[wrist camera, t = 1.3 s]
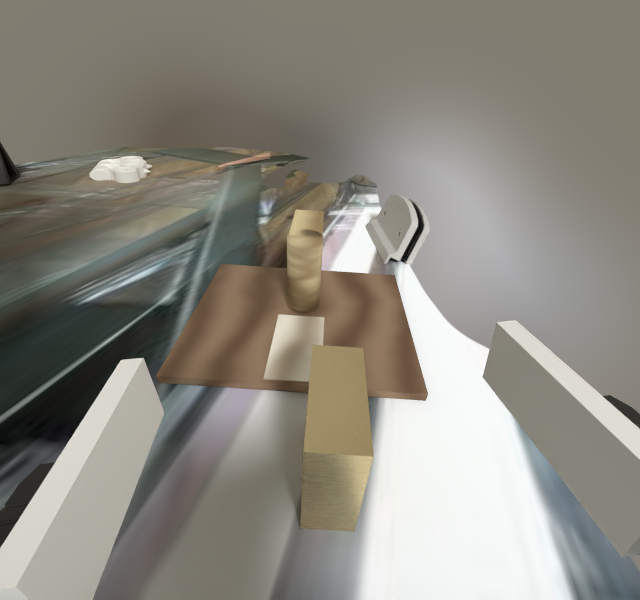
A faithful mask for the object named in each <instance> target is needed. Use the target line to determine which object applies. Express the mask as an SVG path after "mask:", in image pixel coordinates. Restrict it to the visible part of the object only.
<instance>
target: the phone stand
mask: <svg viewBox="0 0 640 600" xmlns="http://www.w3.org/2000/svg"><path fill="white" fill-rule="evenodd" d="M19 177H20V174H19V172H18V170H17V169H16V167H15V165H14V164H13V162H12V161H11V159H10V157H9V156H8V154H7V152H6V151H5V149H4V147H3V146H2V144H1V142H0V186H1V185H10V184H12V183H13V182H14V181H15V180H16V179H17V178H19Z"/></svg>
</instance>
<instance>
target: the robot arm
mask: <svg viewBox="0 0 640 600" xmlns="http://www.w3.org/2000/svg"><path fill="white" fill-rule="evenodd" d="M483 378H484V379H485V381H486V382H487V383H488V384H489V386H490V387H491V388H492V390H493V391H494V392H495V393H496V395H497V396H498V397H499V399H500V400H501V401H502V402H503V404H504V405H505V406H506V408H507V409H508V410H509V412H510V413H511V414H512V415H513V417H514V418H515V419H516V421H517V422H518V423H519V424H520V426H521V427H522V428H523V430H524V431H525V432H526V434H527V435H528V436H529V437H530V439H531V440H532V441H533V443H534V444H535V445H536V446H537V448H538V449H539V450H540V452H541V453H542V454H543V455H544V457H545V458H546V459H547V461H548V462H549V463H550V465H551V466H552V467H553V468H554V470H555V471H556V472H557V474H558V475H559V476H560V477H561V479H562V480H563V481H564V483H565V484H566V485H567V486H568V488H569V489H570V490H571V492H572V493H573V494H574V496H575V497H576V498H577V499H578V501H579V502H580V503H581V505H582V506H583V507H584V508H585V510H586V511H587V512H588V514H589V515H590V516H591V518H592V519H593V520H594V521H595V523H596V524H597V525H598V527H599V528H600V529H601V530H602V532H603V533H604V534H605V536H606V537H607V538H608V539H609V541H610V542H611V543H612V545H613V546H614V547H615V549H616V550H617V551H618V552H619V554H620V555H621V556H622V557H629V556H635V555H640V414H639V413H638V412H637V411H635V410H634V409H633V408H632V407H630V406H628V405H627V404H625V403H623V402H621V401H619V400H617V399H616V398H614V397H612V396H610V395H608V396H602V395H600V394H599V393H598V392H597V391H596V390H595V389H594V388H592V387H591V386H590V385H589V384H588V383H587V382H585V381H584V380H583V379H582V378H581V377H580V376H579V375H577V374H576V373H575V372H574V371H573V370H572V369H571V368H570V367H568V366H567V365H566V364H565V363H564V362H563V361H561V360H560V359H559V358H558V357H557V356H556V355H555V354H553V353H552V352H551V351H550V350H549V349H548V348H547V347H545V346H544V345H543V344H542V343H541V342H540V341H539V340H537V339H536V338H535V337H534V336H533V335H532V334H531V333H529V332H528V331H527V330H526V329H525V328H524V327H522V326H521V325H520V324H519V323H518V322H517V321H516V320H515V321H505V322H497V323H496V327H495V331H494V335H493V338H492V342H491V346H490V350H489V354H488V358H487V362H486V366H485V370H484V374H483ZM163 415H164V410H163V408H162V405H161V402H160V400H159V397H158V395H157V392H156V389H155V387H154V384H153V382H152V379H151V377H150V374H149V371H148V369H147V366H146V364H145V361H144V358H138V359H128V360H121V361H120V363H119V364H118V366H117V367H116V369H115V370H114V372H113V373H112V375H111V377H110V378H109V380H108V381H107V383H106V384H105V386H104V387H103V389H102V391H101V392H100V394H99V395H98V397H97V398H96V400H95V401H94V403H93V405H92V406H91V408H90V409H89V411H88V412H87V414H86V415H85V417H84V419H83V420H82V422H81V423H80V425H79V426H78V428H77V429H76V431H75V433H74V434H73V436H72V437H71V439H70V440H69V442H68V443H67V445H66V447H65V448H64V450H63V451H62V453H61V454H60V456H59V457H58V459H57V461H56V462H55V463H47V464H40V465H39V466H38V467H37V468H36V469H35V470H34V471H33V472H32V473H31V474H29V475H28V476H27V477H26V478H25V479H24V480H23V481H22V482H21V483H20V484H19V485H18V487H17V488H16V490H15V491H14V492H13V494H12V495H11V497H10V498H9V500H8V501H7V502H6V504H5V508H4V509H2V510H1V511H0V600H93V598H94V595H95V592H96V590H97V587H98V585H99V582H100V579H101V577H102V574H103V572H104V569H105V566H106V564H107V561H108V559H109V556H110V553H111V551H112V548H113V546H114V543H115V540H116V538H117V535H118V532H119V530H120V527H121V525H122V522H123V519H124V517H125V514H126V512H127V509H128V506H129V504H130V501H131V499H132V496H133V493H134V491H135V488H136V486H137V483H138V480H139V478H140V475H141V473H142V470H143V467H144V465H145V462H146V460H147V457H148V454H149V452H150V449H151V447H152V444H153V441H154V439H155V436H156V434H157V431H158V428H159V426H160V423H161V421H162V418H163Z"/></svg>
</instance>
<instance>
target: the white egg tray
mask: <svg viewBox="0 0 640 600" xmlns="http://www.w3.org/2000/svg"><path fill="white" fill-rule="evenodd" d="M151 167H152V166H151V165H148V164H146V161H145V160H143V158H142V157H139V156H126V157H121V158H118V159H106V160H102V161H100V162H99V163H98V165H97V166H96V167H94V169H93V170H92V171H91V172H90V173H89V174H90V177H91V178H92V179H94V180H115V181H116V182H119V183H132V182H137V181H140V178H142V177H145V176H147V173H149V172H151V171H149V170H148V169H149V168H151Z"/></svg>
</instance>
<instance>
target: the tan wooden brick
mask: <svg viewBox="0 0 640 600" xmlns="http://www.w3.org/2000/svg"><path fill="white" fill-rule="evenodd" d="M372 460H373V447H372V436H371V426H370V415H369V405H368V394H367V384H366V373H365V363H364V352H363V348H356V347H340V346H325V345H312V356H311V367H310V379H309V391H308V402H307V414H306V425H305V437H304V448H303V469H302V495H301V520H300V528H308V529H323V530H338V531H352V532H354V531H355V527H356V523H357V519H358V515H359V511H360V507H361V503H362V499H363V496H364V492H365V488H366V484H367V480H368V476H369V472H370V468H371V464H372Z"/></svg>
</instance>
